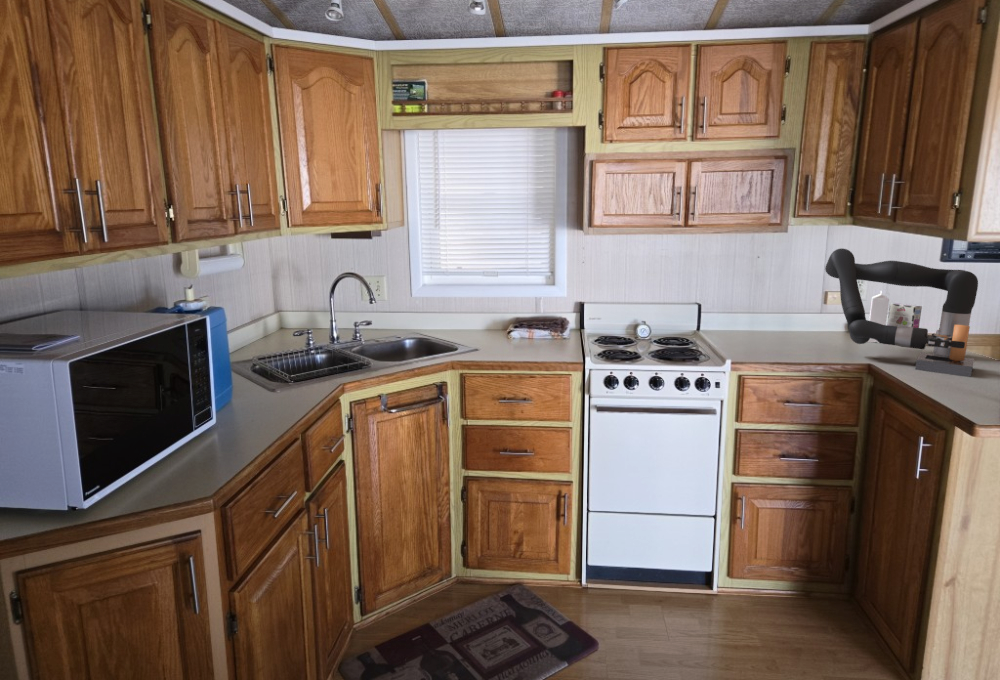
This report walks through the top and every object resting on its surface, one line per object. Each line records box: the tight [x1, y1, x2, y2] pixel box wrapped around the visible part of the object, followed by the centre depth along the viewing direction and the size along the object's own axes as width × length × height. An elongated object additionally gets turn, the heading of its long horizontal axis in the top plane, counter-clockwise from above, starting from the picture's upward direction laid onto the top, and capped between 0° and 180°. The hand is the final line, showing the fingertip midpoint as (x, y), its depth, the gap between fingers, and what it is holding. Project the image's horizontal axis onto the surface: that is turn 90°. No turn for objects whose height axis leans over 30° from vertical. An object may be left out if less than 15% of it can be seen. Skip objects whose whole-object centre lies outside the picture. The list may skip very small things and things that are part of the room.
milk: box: [867, 290, 890, 343], centre depth 277 cm, size 6×6×22 cm
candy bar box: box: [886, 302, 923, 328], centre depth 277 cm, size 11×5×16 cm, turn 25°
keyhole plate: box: [914, 352, 975, 378], centre depth 231 cm, size 16×16×4 cm
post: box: [949, 325, 970, 362], centre depth 227 cm, size 5×5×16 cm
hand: (965, 343), depth 226 cm, fingers open, 8 cm apart
